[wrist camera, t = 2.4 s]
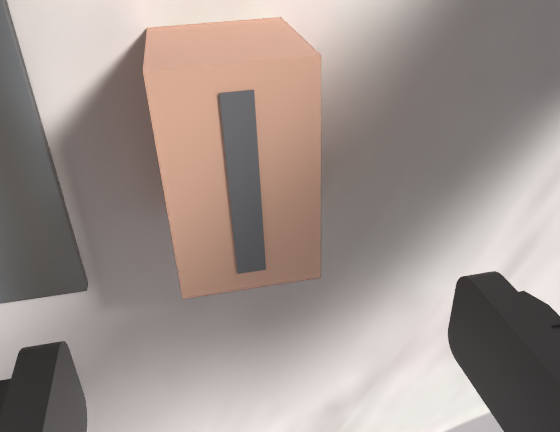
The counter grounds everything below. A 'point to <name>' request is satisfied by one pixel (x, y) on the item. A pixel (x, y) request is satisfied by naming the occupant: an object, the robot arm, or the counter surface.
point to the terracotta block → (238, 151)
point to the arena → (30, 191)
